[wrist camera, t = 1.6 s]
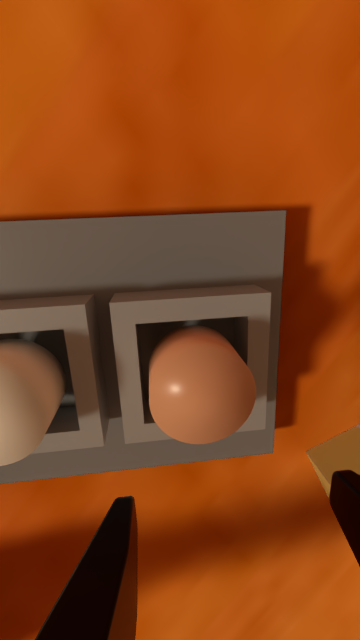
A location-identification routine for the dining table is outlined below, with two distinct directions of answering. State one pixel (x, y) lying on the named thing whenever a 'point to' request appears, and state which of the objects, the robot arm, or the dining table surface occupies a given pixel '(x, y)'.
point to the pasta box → (336, 456)
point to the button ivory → (27, 396)
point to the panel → (139, 326)
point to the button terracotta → (199, 386)
